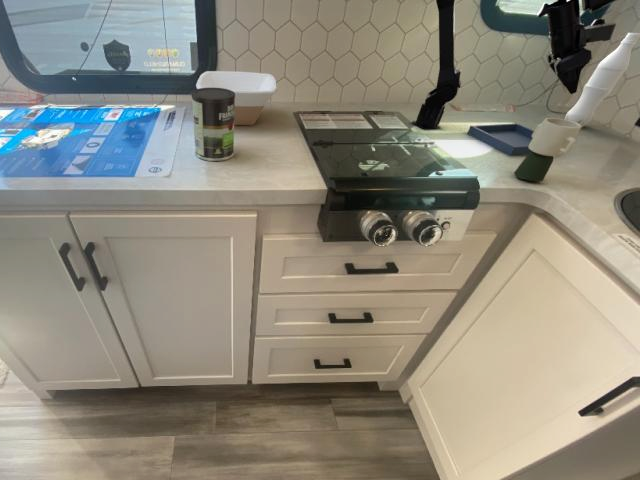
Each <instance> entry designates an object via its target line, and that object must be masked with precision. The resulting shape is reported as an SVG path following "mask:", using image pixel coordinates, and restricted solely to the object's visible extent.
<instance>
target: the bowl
mask: <svg viewBox="0 0 640 480" xmlns="http://www.w3.org/2000/svg"><path fill="white" fill-rule="evenodd" d="M195 87H196V89H200V88H223V89H228V90H231V91H233V92H234V93H235V106H234V126H253V125H255V123H256V122H257V120H258V118H259V117H260V115H261V113H262V111H263V109H264V107H265V105H266V104H267V103H268V102H269V100H270V99H271V98H272V97H273V96H274V95H275V93H276V92H277V90H278V87H277V81H276V77H274V76H273V75H272V74H271V73H264V72H251V71H231V70H230V71H229V70H228V71H227V70H211V71H210V70H206V71H204V72H202V73H201V74H200V75H199V78H198V79H197V81H196V84H195Z"/></svg>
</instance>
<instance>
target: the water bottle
mask: <svg viewBox="0 0 640 480" xmlns="http://www.w3.org/2000/svg"><path fill="white" fill-rule="evenodd" d="M639 38H640V33H639V32H627V34H626V36H625V37H624V38H623V39H622V41H620V44H619V45H618V47H617V48H615V49H614V50H613V51H612V52H611V53H609V54H608V55H607V56H606V57H605V58H603V59H602V60H601V61H600V62H599V63H598V64H597V66H596V68H595V70H594V71H593V72H592V74H591V75H590V77H589V79H588V81H587V82H586V83H585V84H584V86H583V89H582V93H581V95H580V97H579V98H578V100H577V102H576V103H575V104H574V105H573V107H571V109H570V110H568V111H567V112H566V115H565V116H564V119H566V120H570V121H574V122H576V123H579V124H580V125H581V126H582V127H581V128H584V127H585V126H586V125H588V124H589V123H590V122H591V121H592V120H593V118H594V116H595V113H596V110H597V108H598V107H599V105H600V104H601V103H602V102H603V100H604V99H605V98H607V96H608V95H610V93H611V92H612V91H614V90H613V89H614V87H615V86H616V85H617V84H618V82H619V80H620V79H621V77H622V76H623V74H624V73H625V72H626V71H627V69H628V68H629V65H630V61H631V54H632V50H633V48H634V46H635V45H637V42H638V39H639Z"/></svg>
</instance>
